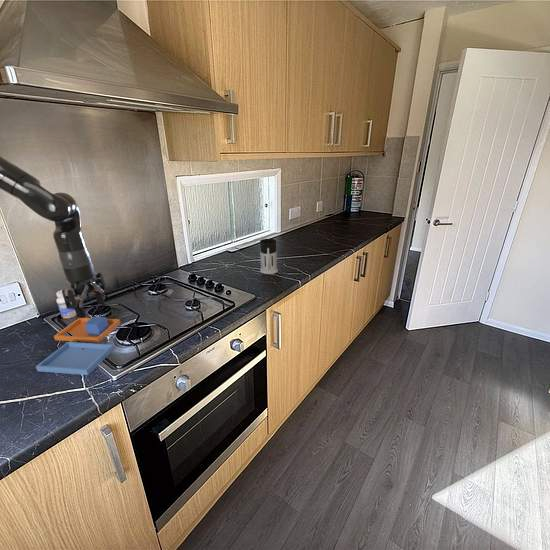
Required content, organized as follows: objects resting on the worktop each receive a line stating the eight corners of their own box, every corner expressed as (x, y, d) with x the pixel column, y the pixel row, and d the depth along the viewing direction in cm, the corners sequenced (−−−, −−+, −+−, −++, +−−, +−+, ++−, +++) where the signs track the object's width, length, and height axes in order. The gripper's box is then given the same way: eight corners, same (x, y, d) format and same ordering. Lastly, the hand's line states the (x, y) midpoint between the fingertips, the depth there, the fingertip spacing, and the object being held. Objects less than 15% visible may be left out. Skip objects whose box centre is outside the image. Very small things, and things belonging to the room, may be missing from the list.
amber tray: (55, 341, 93) (53, 336, 92) (81, 321, 103) (79, 317, 102) (98, 343, 91) (97, 338, 90) (120, 324, 101) (119, 319, 100)
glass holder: (277, 266, 146) (277, 237, 140) (278, 278, 133) (278, 246, 127) (260, 267, 146) (258, 238, 140) (259, 279, 133) (257, 247, 127)
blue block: (88, 335, 95) (84, 323, 93) (97, 327, 99) (93, 316, 97) (100, 336, 94) (96, 324, 92) (109, 328, 98) (105, 317, 96)
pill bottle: (66, 312, 110) (58, 289, 106) (82, 310, 110) (74, 287, 107) (59, 320, 105) (50, 295, 101) (75, 318, 106) (67, 294, 102)
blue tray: (37, 372, 80) (35, 366, 79) (69, 346, 90) (67, 341, 89) (88, 376, 78) (86, 370, 77) (114, 349, 88) (113, 344, 87)
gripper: (83, 254, 94) (97, 299, 100) (45, 271, 81) (64, 322, 87) (104, 255, 93) (117, 300, 99) (69, 272, 80) (87, 323, 86)
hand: (92, 310), depth 93 cm, fingers open, 8 cm apart
